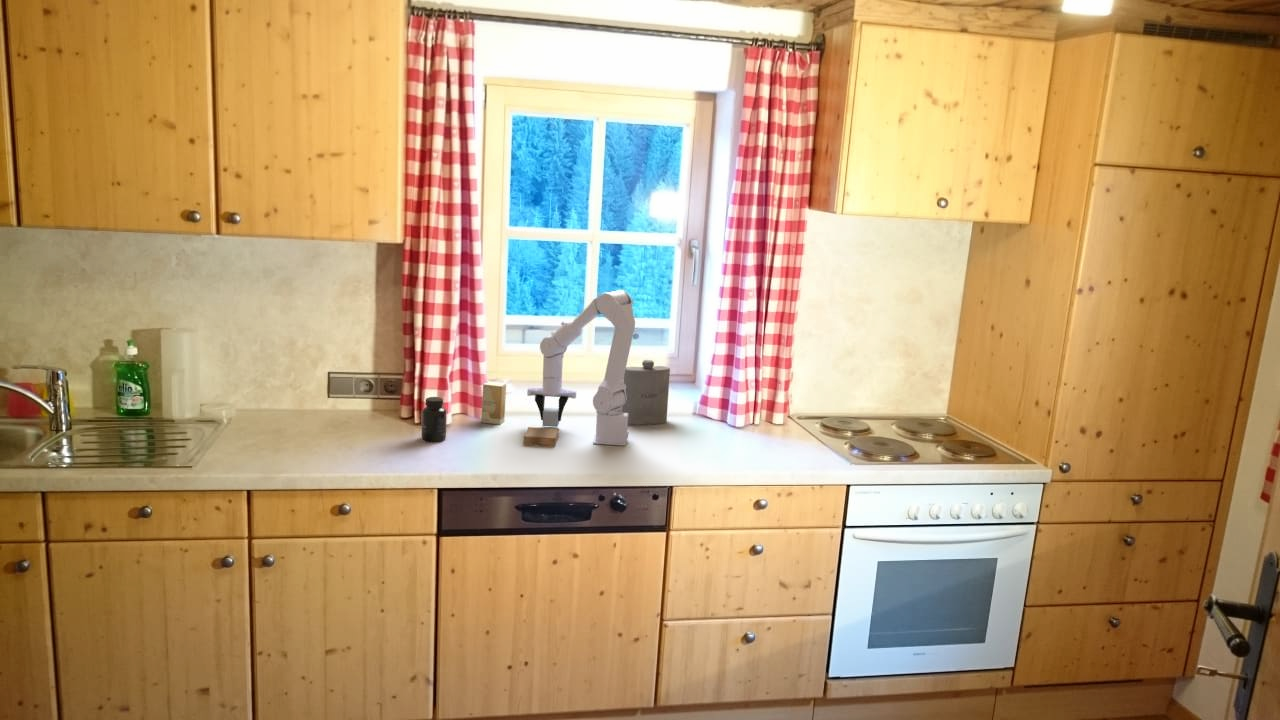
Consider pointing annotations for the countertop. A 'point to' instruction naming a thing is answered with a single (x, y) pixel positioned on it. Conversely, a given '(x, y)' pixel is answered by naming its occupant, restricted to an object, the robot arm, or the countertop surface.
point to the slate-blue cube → (550, 417)
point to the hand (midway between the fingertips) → (551, 419)
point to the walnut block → (541, 436)
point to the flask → (646, 393)
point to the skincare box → (493, 402)
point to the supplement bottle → (434, 420)
